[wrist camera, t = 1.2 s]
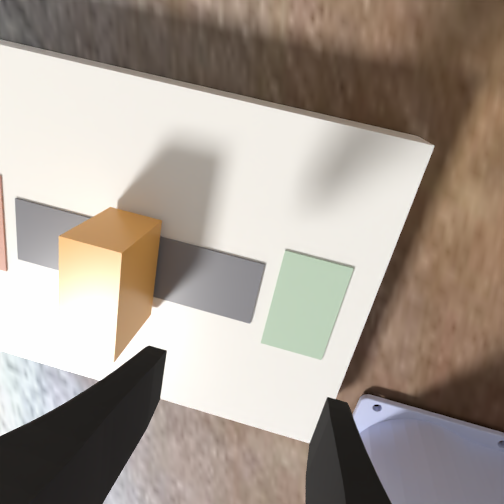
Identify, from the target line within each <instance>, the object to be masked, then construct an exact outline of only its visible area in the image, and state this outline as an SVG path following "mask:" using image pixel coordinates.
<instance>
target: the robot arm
mask: <svg viewBox="0 0 504 504" xmlns="http://www.w3.org/2000/svg"><path fill="white" fill-rule="evenodd" d="M166 354H167V350H164V349H160V348H157V347H153V346H150V345H148V346H146V347H145V348H143V349H142V350H141V351H140V352H138V353H137V354H136V355H134V356H133V357H132V358H131V359H129V360H128V361H127V362H125V363H124V364H123V365H121V366H120V367H119V368H117V369H116V370H114V371H113V372H112V373H110V374H109V375H107V376H106V377H104V378H103V379H102V380H100V381H99V382H97V383H96V384H94V385H93V386H91V387H90V388H88V389H87V390H85V391H84V392H82V393H80V394H79V395H77V396H76V397H74V398H72V399H71V400H69V401H68V402H66V403H64V404H62V405H61V406H59V407H57V408H56V409H54V410H52V411H50V412H48V413H46V414H45V415H43V416H41V417H39V418H37V419H35V420H33V421H31V422H29V423H27V424H25V425H23V426H21V427H19V428H17V429H15V430H13V431H10V432H8V433H6V434H4V435H2V436H0V504H103V502H104V500H105V498H106V497H107V495H108V493H109V491H110V490H111V488H112V486H113V485H114V483H115V481H116V480H117V478H118V476H119V475H120V473H121V471H122V470H123V468H124V466H125V465H126V463H127V461H128V459H129V458H130V456H131V454H132V453H133V451H134V449H135V448H136V446H137V444H138V443H139V441H140V439H141V437H142V436H143V434H144V432H145V431H146V429H147V427H148V425H149V422H150V420H151V418H152V416H153V414H154V411H155V409H156V407H157V405H158V402H159V400H160V396H161V389H162V382H163V375H164V368H165V361H166ZM376 404H378V405H380V406H374V405H376ZM499 441H502V442H499ZM306 504H504V433H503V432H500V431H496V430H493V429H489V428H486V427H482V426H479V425H475V424H472V423H468V422H465V421H461V420H458V419H454V418H451V417H447V416H444V415H440V414H437V413H433V412H430V411H426V410H423V409H419V408H416V407H412V406H409V405H405V404H402V403H398V402H395V401H391V400H388V399H384V398H381V397H377V396H374V395H370V394H365V395H363V396H361V397H360V398H359V401H358V403H357V405H356V408H355V410H354V412H353V415H352V413H351V410H350V407H349V405H348V403H347V402H343V401H340V400H337V399H333V398H330V397H327V399H326V402H325V404H324V407H323V409H322V412H321V415H320V417H319V420H318V423H317V425H316V428H315V431H314V433H313V436H312V438H311V441H310V445H309V453H308V461H307V471H306Z"/></svg>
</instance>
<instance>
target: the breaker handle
mask: <svg viewBox="0 0 504 504" xmlns="http://www.w3.org/2000/svg"><path fill="white" fill-rule="evenodd" d="M161 225H162V220H159V219H155V218H151V217H147V216H143V215H140V214H136V213H132V212H128V211H124V210H121V209H117V208H113V207H109V208H108V209H106V210H104V211H102V212H100V213H99V214H97V215H95V216H93V217H92V218H90V219H88V220H86V221H84V222H83V223H81V224H79V225H77V226H76V227H74V228H72V229H70V230H68V231H67V232H65V233H63V234H61V235H60V236H59V347H61V348H64V349H68V350H71V351H75V352H78V353H81V354H85V355H88V356H92V357H95V358H98V359H102V360H105V361H109V362H112V363H114V362H115V361H116V360H117V358H118V357H119V356H120V355H121V353H122V352H123V351H124V349H125V348H126V347H127V345H128V344H129V343H130V342H131V340H132V339H133V338H134V336H135V335H136V334H137V332H138V331H139V330H140V329H141V327H142V326H143V325H144V323H145V322H146V321H147V319H148V318H149V317H150V316H151V311H152V303H153V294H154V286H155V277H156V268H157V260H158V251H159V242H160V234H161Z"/></svg>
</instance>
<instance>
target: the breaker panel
mask: <svg viewBox="0 0 504 504" xmlns="http://www.w3.org/2000/svg"><path fill="white" fill-rule="evenodd" d="M433 149H434V145H433V144H431V143H429V142H427V141H426V140H424V139H422V138H420V137H419V136H415V135H411V134H407V133H403V132H398V131H394V130H390V129H385V128H381V127H377V126H372V125H368V124H364V123H359V122H355V121H351V120H347V119H342V118H338V117H334V116H329V115H325V114H321V113H316V112H312V111H308V110H303V109H299V108H295V107H290V106H286V105H282V104H278V103H273V102H269V101H265V100H260V99H256V98H252V97H247V96H243V95H239V94H234V93H230V92H226V91H222V90H217V89H213V88H209V87H204V86H200V85H196V84H191V83H187V82H183V81H178V80H174V79H170V78H165V77H161V76H157V75H153V74H148V73H144V72H140V71H135V70H131V69H127V68H122V67H118V66H114V65H109V64H105V63H101V62H97V61H92V60H88V59H84V58H79V57H75V56H71V55H66V54H62V53H58V52H53V51H49V50H45V49H40V48H36V47H32V46H28V45H23V44H19V43H15V42H10V41H6V40H2V39H0V351H3V352H6V353H9V354H13V355H16V356H19V357H23V358H26V359H29V360H33V361H36V362H39V363H43V364H46V365H49V366H53V367H56V368H59V369H63V370H66V371H69V372H73V373H76V374H79V375H83V376H86V377H89V378H93V379H96V380H99V381H100V380H102V379H103V378H104V377H106V376H107V375H109V374H110V373H112V372H113V371H114V370H116V369H117V368H119V367H120V366H121V365H123V364H124V363H125V362H127V361H128V360H129V359H131V358H132V357H133V356H134V355H136V354H137V353H138V352H140V351H141V350H142V349H143V348H145V347H146V346H148V345H150V346H153V347H157V348H160V349H164V350H167V354H166V361H165V368H164V375H163V382H162V389H161V396H160V399H163V400H166V401H170V402H173V403H176V404H180V405H183V406H186V407H190V408H193V409H196V410H200V411H203V412H206V413H210V414H213V415H216V416H220V417H223V418H226V419H230V420H233V421H236V422H240V423H243V424H246V425H250V426H253V427H256V428H260V429H263V430H266V431H270V432H273V433H276V434H280V435H283V436H286V437H290V438H293V439H296V440H300V441H303V442H306V443H310V441H311V438H312V436H313V433H314V431H315V428H316V425H317V423H318V420H319V417H320V415H321V412H322V409H323V407H324V404H325V402H326V399H327V397H330V398H333V399H336V397H337V394H338V391H339V389H340V386H341V384H342V381H343V379H344V376H345V374H346V371H347V368H348V366H349V363H350V361H351V358H352V356H353V353H354V351H355V348H356V345H357V343H358V340H359V338H360V335H361V333H362V330H363V328H364V325H365V322H366V320H367V317H368V315H369V312H370V310H371V307H372V305H373V302H374V299H375V297H376V294H377V292H378V289H379V287H380V284H381V282H382V279H383V277H384V274H385V271H386V269H387V266H388V264H389V261H390V259H391V256H392V254H393V251H394V248H395V246H396V243H397V241H398V238H399V236H400V233H401V231H402V228H403V225H404V223H405V220H406V218H407V215H408V213H409V210H410V208H411V205H412V202H413V200H414V197H415V195H416V192H417V190H418V187H419V185H420V182H421V179H422V177H423V174H424V172H425V169H426V167H427V164H428V162H429V159H430V157H431V154H432V151H433ZM109 207H113V208H117V209H121V210H124V211H128V212H132V213H136V214H140V215H143V216H147V217H151V218H155V219H159V220H162V225H161V234H160V242H159V251H158V260H157V268H156V277H155V286H154V294H153V303H152V311H151V316H150V317H149V318H148V319H147V321H146V322H145V323H144V325H143V326H142V327H141V329H140V330H139V331H138V332H137V334H136V335H135V336H134V338H133V339H132V340H131V342H130V343H129V344H128V345H127V347H126V348H125V349H124V351H123V352H122V353H121V355H120V356H119V357H118V358H117V360H116V361H115V362H114V363H112V362H109V361H105V360H102V359H98V358H95V357H92V356H88V355H85V354H81V353H78V352H75V351H71V350H68V349H64V348H61V347H59V236H60V235H61V234H63V233H65V232H67V231H68V230H70V229H72V228H74V227H76V226H77V225H79V224H81V223H83V222H84V221H86V220H88V219H90V218H92V217H93V216H95V215H97V214H99V213H100V212H102V211H104V210H106V209H108V208H109Z"/></svg>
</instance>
